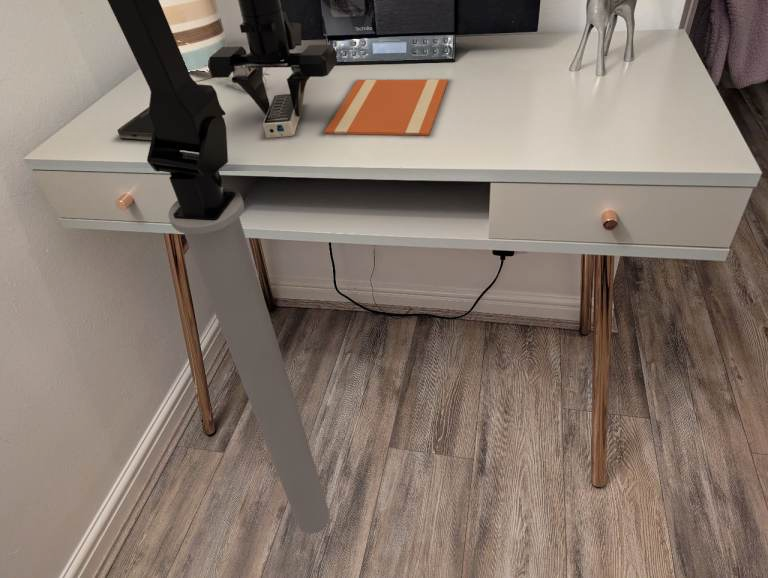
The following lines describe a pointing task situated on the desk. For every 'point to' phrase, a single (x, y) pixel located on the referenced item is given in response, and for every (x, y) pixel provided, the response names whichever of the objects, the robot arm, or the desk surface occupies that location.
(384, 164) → the desk surface
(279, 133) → the multiport hub
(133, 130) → the phone
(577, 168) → the desk surface
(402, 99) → the towel
